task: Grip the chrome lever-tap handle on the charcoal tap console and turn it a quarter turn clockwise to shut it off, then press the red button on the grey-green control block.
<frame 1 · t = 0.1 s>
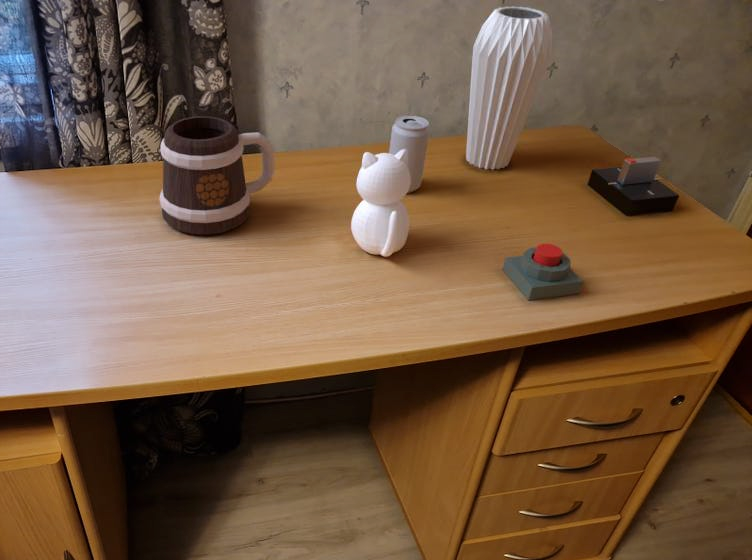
tap handle: (639, 170, 117), point 5 cm above the table, hinge at 90.0°
button: (547, 255, 97), point 5 cm above the table, slide at 0.2 cm
button block: (539, 281, 100), on the table
beverage can: (402, 187, 123), on the table
tap console: (628, 197, 120), on the table
mug: (219, 213, 115), on the table
cat figurine: (379, 248, 107), on the table
vase: (486, 161, 131), on the table
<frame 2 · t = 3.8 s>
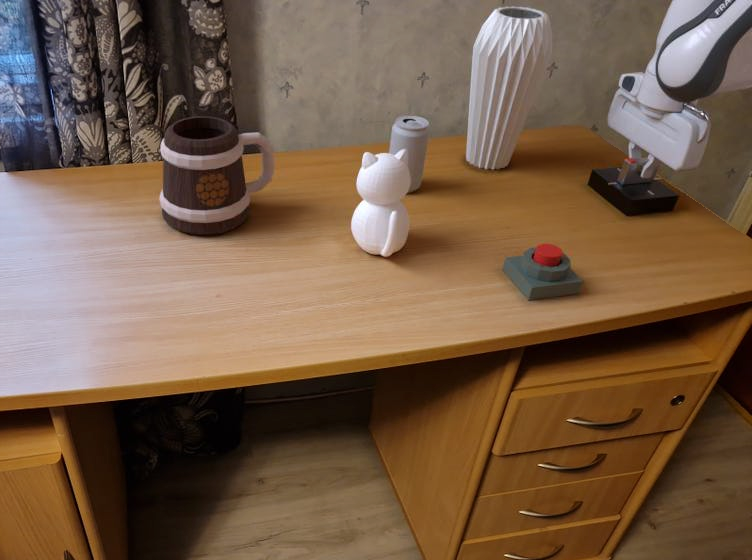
hand: (638, 172, 117), 5 cm above the table, tool pointing down, fingers closed on tap handle, 2 cm apart
tap handle: (639, 170, 117), point 5 cm above the table, hinge at 90.0°, touching gripper
everything else where it was.
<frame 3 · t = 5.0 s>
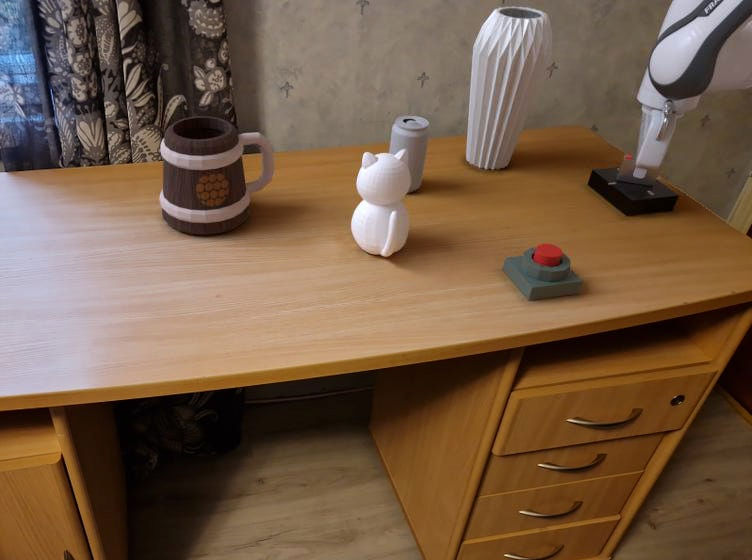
hand: (638, 172, 117), 5 cm above the table, tool pointing down, fingers closed on tap handle, 2 cm apart
tap handle: (639, 170, 117), point 5 cm above the table, hinge at 54.2°, touching gripper
everything else where it was.
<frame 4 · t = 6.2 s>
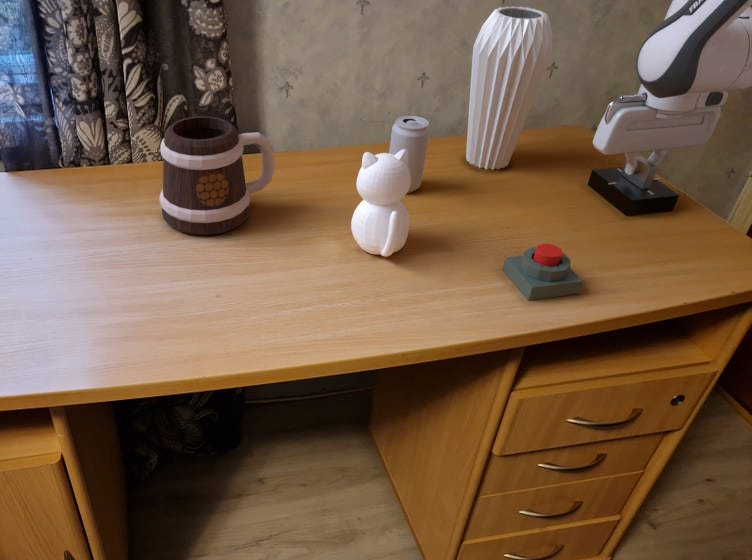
hand: (638, 172, 117), 5 cm above the table, tool pointing down, fingers closed on tap handle, 2 cm apart
tap handle: (639, 170, 117), point 5 cm above the table, hinge at 0.6°, touching gripper
everything else where it was.
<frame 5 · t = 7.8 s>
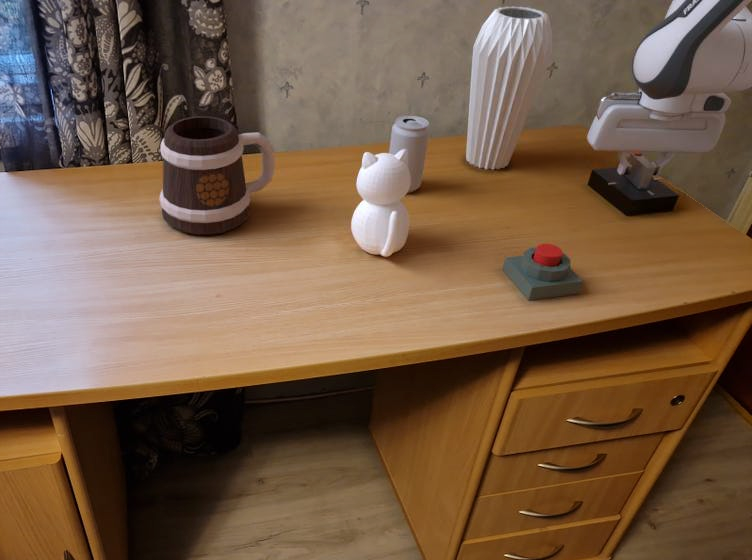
hand: (637, 174, 117), 4 cm above the table, tool pointing down, fingers open, 4 cm apart
tap handle: (639, 170, 117), point 5 cm above the table, hinge at -10.0°
everything else where it was.
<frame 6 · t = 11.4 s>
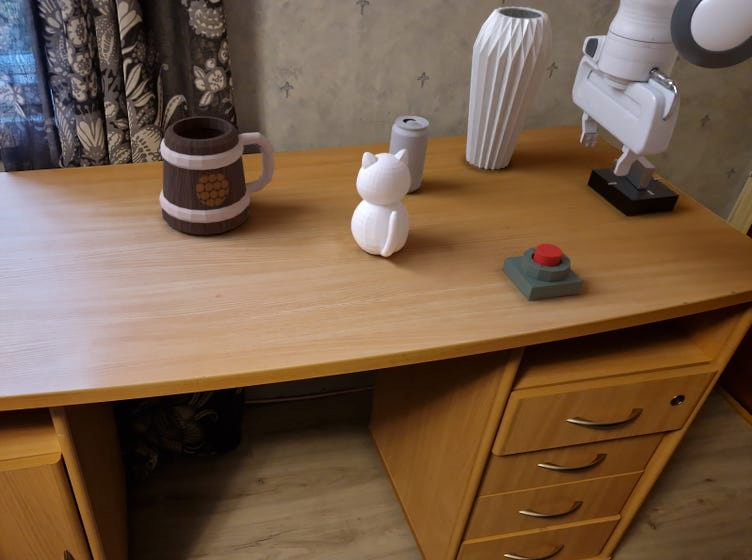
hand: (602, 158, 97), 15 cm above the table, tool pointing down, fingers open, 8 cm apart
nothing on the table moved.
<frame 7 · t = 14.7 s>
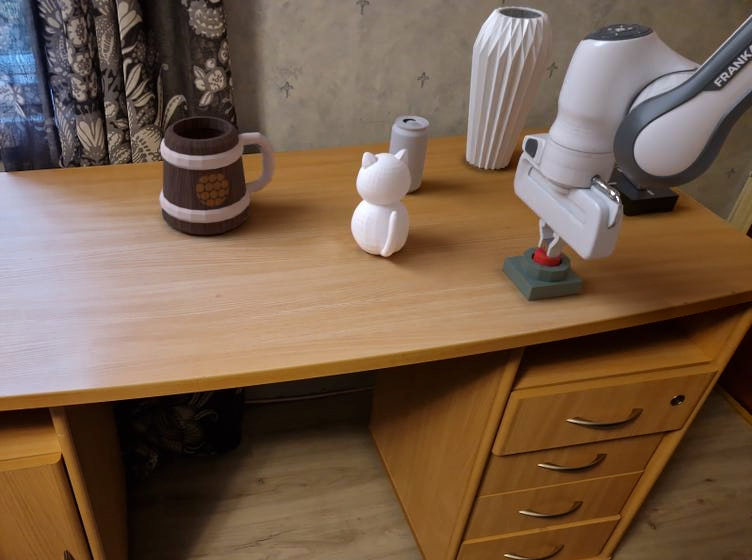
hand: (548, 252, 97), 5 cm above the table, tool pointing down, fingers closed, pressing on button
button: (547, 257, 97), point 4 cm above the table, slide at -0.3 cm, touching gripper
everything else where it was.
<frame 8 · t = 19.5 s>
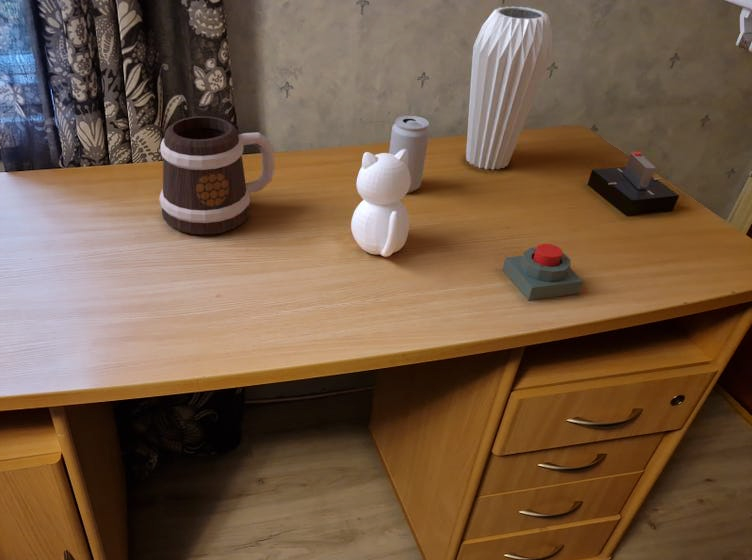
hand: (748, 49, 90), 29 cm above the table, tool pointing down, fingers closed
button: (547, 255, 97), point 5 cm above the table, slide at 0.1 cm
everything else where it was.
at the end: tap handle at -10° (first picture: +90°); button pushed in 1.0 cm at the most during the clip, back to where it started at the end; button slide at 0.1 cm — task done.
